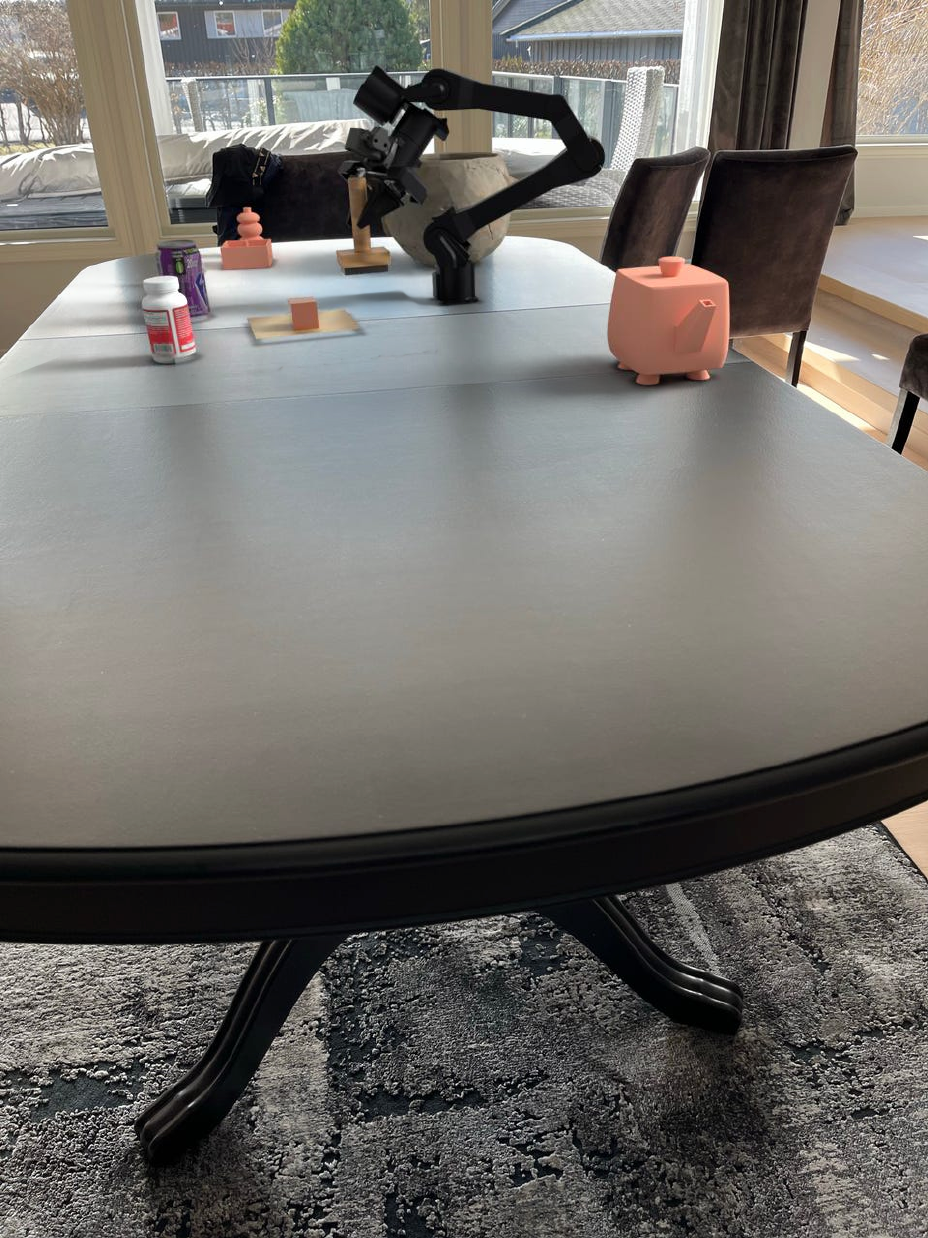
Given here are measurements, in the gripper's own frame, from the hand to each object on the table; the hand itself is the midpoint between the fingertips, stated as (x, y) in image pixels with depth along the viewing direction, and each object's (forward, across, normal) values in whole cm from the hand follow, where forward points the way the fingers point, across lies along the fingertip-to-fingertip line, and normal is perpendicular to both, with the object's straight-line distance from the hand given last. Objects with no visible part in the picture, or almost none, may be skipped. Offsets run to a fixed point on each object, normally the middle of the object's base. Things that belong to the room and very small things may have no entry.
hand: (353, 226), depth 151 cm
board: (+18, +3, +1) cm, 19 cm away
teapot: (+2, +58, +18) cm, 60 cm away
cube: (+18, +6, -1) cm, 19 cm away
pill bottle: (+34, +6, -15) cm, 38 cm away
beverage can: (+26, -17, -7) cm, 32 cm away
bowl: (-16, -25, +35) cm, 46 cm away
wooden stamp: (+4, 0, +6) cm, 7 cm away
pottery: (+4, -58, +15) cm, 60 cm away
